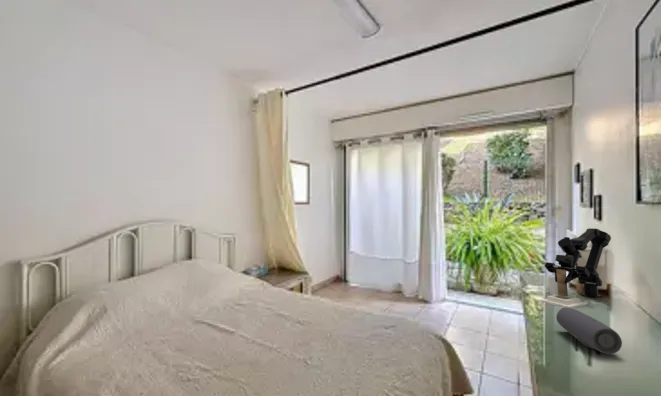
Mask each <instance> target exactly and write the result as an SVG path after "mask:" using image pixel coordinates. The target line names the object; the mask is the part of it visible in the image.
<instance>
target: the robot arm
mask: <svg viewBox="0 0 661 396" xmlns="http://www.w3.org/2000/svg"><path fill="white" fill-rule="evenodd" d="M611 240H612V237H611V235H610V234H609V233H607V232H606V231H603V230H600V229H599V228H587V229H586V230H585V231H584V232H583V233H582V234H580V235H579V236H578V237H573V238H570V237H569V236H565V237H564V238H561V239H560V240H558V241H557V245H558V246H559V248H560V249H561V251H562V252H563V253H564V254H556V255H555V259H554V260H555V261H556V262H557V264H555V263H554V262H547V261H546V262H545V263H544V265H543V266H544V267H545V268H546V270H547V271H548V272H549V273H553V274H554V276H555V282H557V272H556V269H565V270H566V273H567V274H566V279H565V284H567V285H568V283H570V282H572V281H573V280H576V279H578V283H579V284H580V285H582V284H583V290H584V291H583V293H581V296H584V295H586V297H590V298H595V299H596V298H599V297H602V296H603V295H601V294H599V289H598V287H602V286H603V280H602V279H601V278H600V276H599V275H600V274H599V272H598V270H597V269H598V266H599V263H600V259H601V256H602V254H603V249H604V248H606V247H607V246H609V243H610V241H611ZM589 243H591V247H590V251H589V255H588V256H587V260H586V264H585V265H583V266H581V265H579V264H578V261H579V259H581V258H582V254H581V252H580V251H582V252H584V251H586V249H588V244H589Z"/></svg>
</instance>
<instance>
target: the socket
mask: <svg viewBox="0 0 661 396" xmlns="http://www.w3.org/2000/svg"><path fill="white" fill-rule="evenodd" d="M540 302H541V303H544V302H545V304H548V305H553V306H556V307H560V308H572V309H576V308H580V307H585V306H588V302H585V301H581V298H579V297H574V296H570V295H568V296H560V295H558V294H556V295H551V294H550V295H546V298H542V299H540Z"/></svg>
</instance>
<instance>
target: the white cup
mask: <svg viewBox="0 0 661 396" xmlns="http://www.w3.org/2000/svg"><path fill="white" fill-rule="evenodd" d="M547 284H548V285H547V286H548V291H549V292H550V293H551V294H555V295H556V294H558V285H557V282H555V275H547ZM550 293H549V294H550ZM551 294H550V295H551Z"/></svg>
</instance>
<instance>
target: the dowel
mask: <svg viewBox="0 0 661 396" xmlns="http://www.w3.org/2000/svg"><path fill="white" fill-rule="evenodd" d="M556 272H557V285H558V295H560V296H569V295H568V294H569V292H568V283H567V284H565V279H566V277H567V271H566V270H565V269H556Z"/></svg>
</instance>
